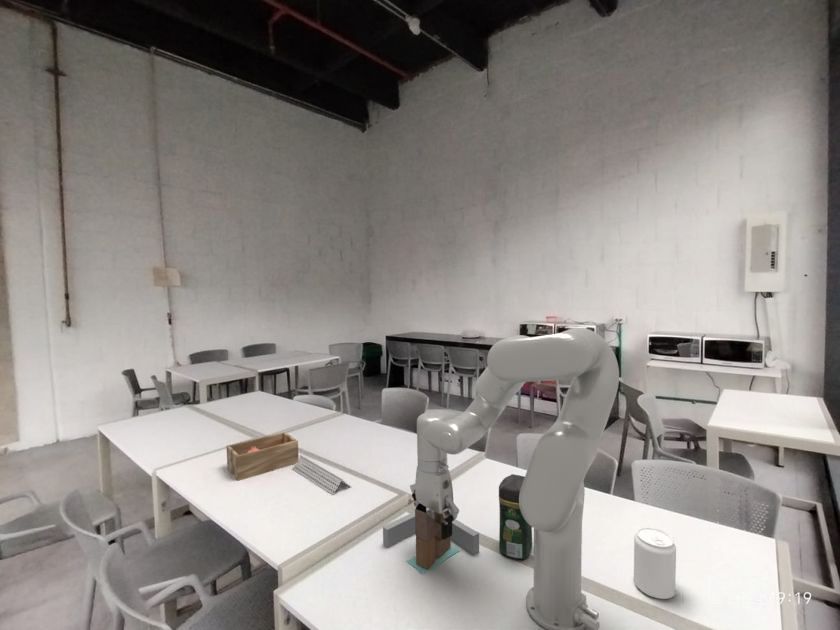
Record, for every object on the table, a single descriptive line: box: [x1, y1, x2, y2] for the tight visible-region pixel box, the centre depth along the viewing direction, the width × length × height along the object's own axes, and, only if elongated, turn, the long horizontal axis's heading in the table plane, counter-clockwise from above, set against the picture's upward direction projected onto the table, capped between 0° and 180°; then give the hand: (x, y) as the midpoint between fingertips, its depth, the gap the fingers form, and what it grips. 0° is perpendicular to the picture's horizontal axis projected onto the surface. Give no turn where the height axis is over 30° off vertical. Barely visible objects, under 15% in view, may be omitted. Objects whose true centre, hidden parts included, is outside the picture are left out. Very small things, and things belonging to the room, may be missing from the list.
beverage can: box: [633, 527, 677, 600], centre depth 90 cm, size 8×8×12 cm
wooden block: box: [414, 507, 452, 569], centre depth 102 cm, size 4×11×18 cm, turn 143°
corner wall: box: [382, 507, 480, 556], centre depth 105 cm, size 19×17×5 cm
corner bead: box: [291, 454, 352, 496], centre depth 147 cm, size 29×9×5 cm, turn 44°
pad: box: [406, 544, 461, 575], centre depth 102 cm, size 6×13×1 cm, turn 130°
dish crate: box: [226, 431, 300, 482], centre depth 158 cm, size 14×23×9 cm, turn 130°
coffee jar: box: [498, 473, 533, 560], centre depth 104 cm, size 10×8×19 cm
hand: (433, 528), depth 102 cm, fingers open, 9 cm apart
